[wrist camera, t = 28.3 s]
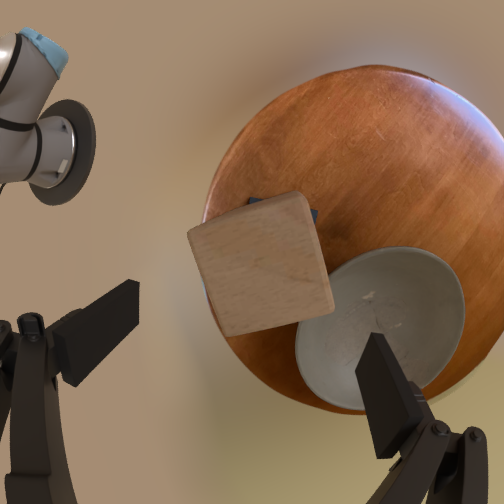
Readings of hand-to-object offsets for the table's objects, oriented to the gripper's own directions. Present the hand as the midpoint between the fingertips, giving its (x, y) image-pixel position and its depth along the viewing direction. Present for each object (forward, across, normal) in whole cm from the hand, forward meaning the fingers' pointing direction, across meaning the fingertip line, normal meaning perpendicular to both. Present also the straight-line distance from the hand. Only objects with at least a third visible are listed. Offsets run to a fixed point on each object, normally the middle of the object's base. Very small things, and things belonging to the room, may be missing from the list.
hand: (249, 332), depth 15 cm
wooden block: (+28, 0, 0) cm, 28 cm away
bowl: (+28, +19, -10) cm, 36 cm away
